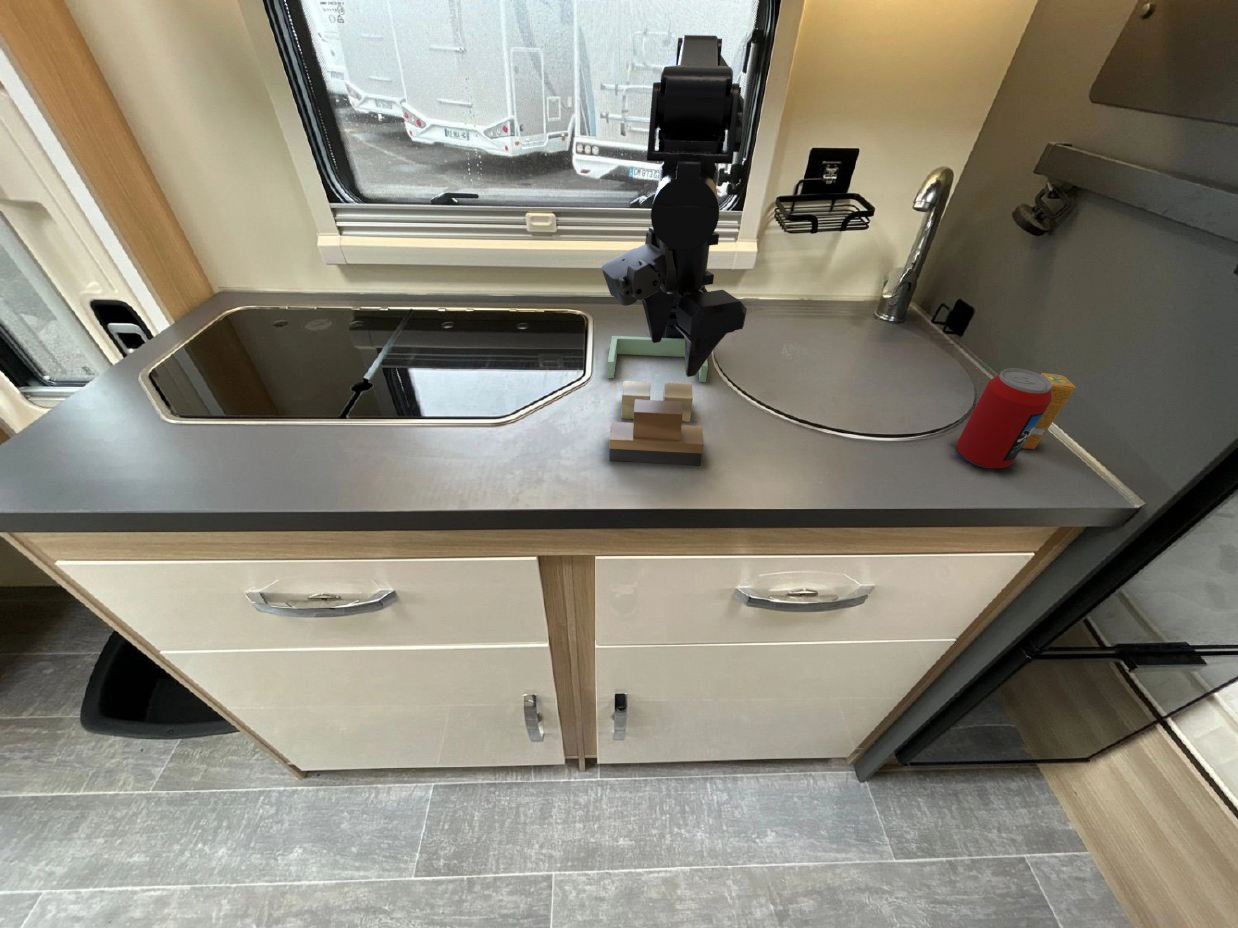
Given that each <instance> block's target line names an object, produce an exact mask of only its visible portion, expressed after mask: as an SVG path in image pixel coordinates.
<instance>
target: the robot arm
mask: <svg viewBox="0 0 1238 928" xmlns="http://www.w3.org/2000/svg"><path fill="white" fill-rule="evenodd" d="M722 48H723V38H719V37H718V36H717V35H711V34H709V35H703V34H702V35H701V34H698V35H697V34H684V35H683V36H682V37H677V45H676V54H675V55H674V56H673V57H672V59H670V61H669V62H668V63H667V64H666V65H665V66H663V67H662V69H661V73H660V81H657V80H656V81H655V80H654V81H653V83H652V91H651V103H650V112H649V113H650V116H649V127H648V139H647V151H646V161H647V162H662V163H661V166H660V167H659V168H658V185H657V188H656V191H655V194H654V197H653V201H652V204H651V210H650V221H651V226H648V230H647V231H645V241H644V244H642V245H640V246H638V247H634V248H632V249H629V250H627V251H625V252H624V253H622V254H620V255H617V256H616V257H614V258H612V259H610V260H608V261H606V262H605V263H603V264H602V265H601V266H600V267H601V268H600V269H601V272H602V275H603V276H604V280H605V283H606V286H607V288H608V291H609V294H610V296H611V297H614V299H616V300H617V302H618V303H619V304H620V306H622V307H623V306H624V307H625V306H626V307H627V306H631V305H633V304H635V303H637V302H638V301H641V303H642V307H643V310H644V315H645V319H646V323H647V327H648V332H649V337H651V340H652V342H653V343H657V342H660V341H661V339H662V338H674V339H685V357H684V370H685V371H684V372H685V376H686V377H687V378H691V377H694V376H696V375H697V374H698V373H699V369H700V368H701V367H702V365H703V364H704V362H705V361H706V359H707V360H708V358H709V356H711V354H712V352H713V351H714V350H715V348H717V346H718V345H719V343H720V342H721V341H722V340H723V338H725V337H726V335H727V334H730V333H734V332H735V331H739V330H743V329H744V327H745V322H746V316H747V310H748V309H747V307H746V306H745V304H743V303H742V301H741V300H739V299H738V298H737V297H735V296H733V295H732V294H731V293H729V292H727V291H726V290H725V289H717V290H711V291H710V290H709V291H708V289H707V288H706V286H710V285H713V284H714V279H715V274H714V273H712V272H710V271H709V270H708V264H709V263H708V262H709V254H710V246H717V245H719V240H720V234H719V233H718V232H715V231H716V229H717V227H718V222H719V219H720V205H719V204H720V203H719V196H718V195H719V194H718V189H717V187H718V178H719V170H718V168H717V165H718V164H720V165H733V163H734V156H735V155H734V154H735V153H740V151H741V145H742V139H743V123H744V111H745V110H744V109H745V99H744V97H743V96H742V94H741V93H742V87H741V86H740V83H733V82H734V70H733V68H732V67H731V66H729V64H728V63H727V61H726V60H725V59H724V57H723V55H722ZM657 134H658V135H657ZM657 140H658V147H656V143H657ZM725 142H726V149H725V150H724V143H725Z"/></svg>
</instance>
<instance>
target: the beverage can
mask: <svg viewBox="0 0 1238 928" xmlns="http://www.w3.org/2000/svg"><path fill="white" fill-rule="evenodd" d="M1051 388H1052V383H1051V382H1050V381H1049V380H1048V379H1047V378H1046V377H1044V376H1042V375H1041V373H1038V372H1035V371H1032V370H1029V369H1025V368H1017V367H1016V368H1015V367H1010V368H1009V367H1008V368H1005V369H1002V370H1001V371H1000V373H999V374H997V375H995V376H994V377H992V378H991V379H990V380H989V381H988V383H987V384H986V386H985V388H984V389H983V392H982V393H981V396H980V397H979V399H978V401H977V402H976V405H975V407H974V408H973V411H972V412H971V414H970V416H969V418H968V420H967V422H966V424H965V426H964V428H963V430H962V432H961V433H960V436H959V438H958V440H957V442H956V450H957V452H958V453H960V455H961V456H962V457H963V458H964V459H965V460H966V461H968V462H969V463H971V464H973V465H975V466H978V467H980V468H986V469H1005V468H1008V467H1010V466H1011V465H1012V464H1013V463H1014V462H1015V460H1016V458H1017V456H1018V455H1019V453H1020V452H1021V450H1022V449H1023V448H1022V447H1023V445H1024V444H1025V442H1026V441H1027V439H1028V438H1029V436H1030V435H1031V433H1032V431H1033V430H1034V428H1035V427H1036V425H1037V423H1038V422H1039V420H1040V418H1041V417H1042V415H1043V414H1044V412H1045V410H1046V409H1047V407H1048V405H1049V404H1050V402H1051V400H1052V396H1051Z"/></svg>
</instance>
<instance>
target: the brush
mask: <svg viewBox="0 0 1238 928" xmlns="http://www.w3.org/2000/svg"><path fill="white" fill-rule="evenodd" d="M682 416H683V411H682V402H681V401H663V400H660V399H659V400H658V399H657V400H656V399H650V400H638V399H635V405H634V419H633V422H625V421H611V423H610V432H609V440H608V449H609V450H608V452H609V453H608V461H611V462H612V461H613V462H630V463H631V462H632V463H649V464H668V465H669V464H670V465H686V466H701V465H702V458H703V452H704V445H705V443H704V434H703V426H702V425H684V424H683V421H682Z"/></svg>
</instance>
